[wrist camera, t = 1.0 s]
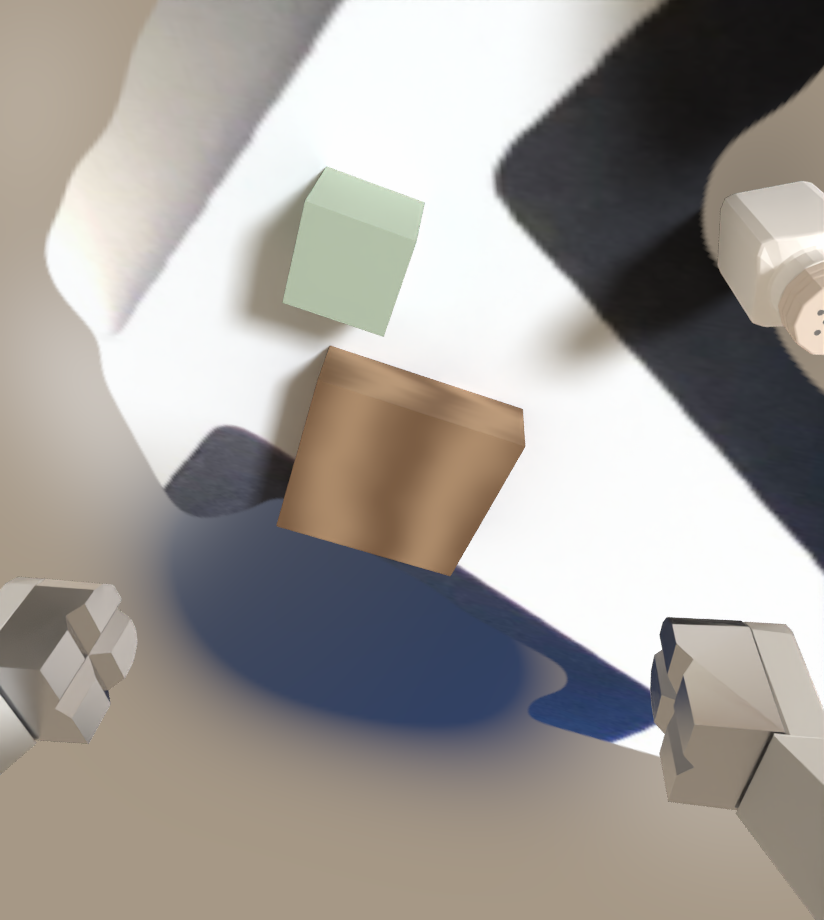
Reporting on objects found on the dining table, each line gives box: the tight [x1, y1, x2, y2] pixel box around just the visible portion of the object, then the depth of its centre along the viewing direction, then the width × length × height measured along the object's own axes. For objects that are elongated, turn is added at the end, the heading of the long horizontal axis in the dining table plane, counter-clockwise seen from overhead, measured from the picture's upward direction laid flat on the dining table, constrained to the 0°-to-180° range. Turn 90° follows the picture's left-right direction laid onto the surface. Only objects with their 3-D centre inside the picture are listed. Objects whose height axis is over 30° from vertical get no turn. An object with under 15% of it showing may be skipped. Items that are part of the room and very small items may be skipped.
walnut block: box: [277, 346, 525, 576], centre depth 42 cm, size 12×12×4 cm
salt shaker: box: [717, 181, 824, 355], centre depth 28 cm, size 4×4×10 cm
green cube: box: [283, 166, 425, 337], centre depth 32 cm, size 5×5×5 cm
